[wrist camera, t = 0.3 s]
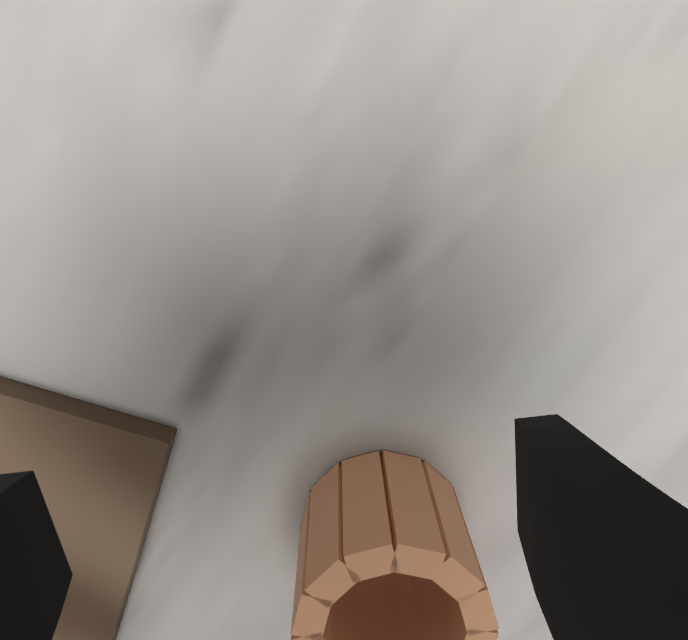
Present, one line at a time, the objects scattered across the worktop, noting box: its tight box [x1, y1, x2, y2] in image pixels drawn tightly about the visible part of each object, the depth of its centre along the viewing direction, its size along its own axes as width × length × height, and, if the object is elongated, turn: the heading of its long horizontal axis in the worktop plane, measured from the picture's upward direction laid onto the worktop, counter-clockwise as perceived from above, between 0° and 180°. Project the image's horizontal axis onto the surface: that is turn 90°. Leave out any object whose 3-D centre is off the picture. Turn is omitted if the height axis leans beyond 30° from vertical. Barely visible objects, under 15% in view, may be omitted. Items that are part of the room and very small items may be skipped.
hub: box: [291, 450, 498, 640], centre depth 19 cm, size 5×5×5 cm
